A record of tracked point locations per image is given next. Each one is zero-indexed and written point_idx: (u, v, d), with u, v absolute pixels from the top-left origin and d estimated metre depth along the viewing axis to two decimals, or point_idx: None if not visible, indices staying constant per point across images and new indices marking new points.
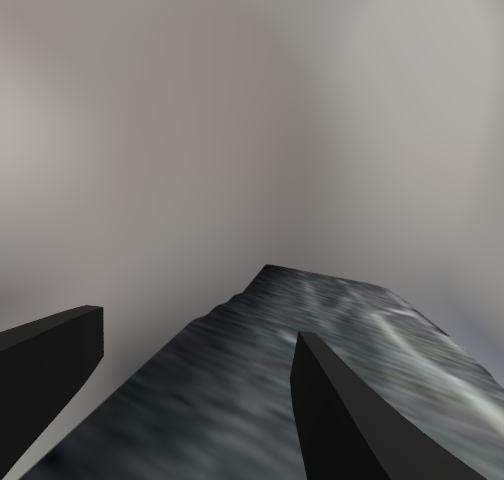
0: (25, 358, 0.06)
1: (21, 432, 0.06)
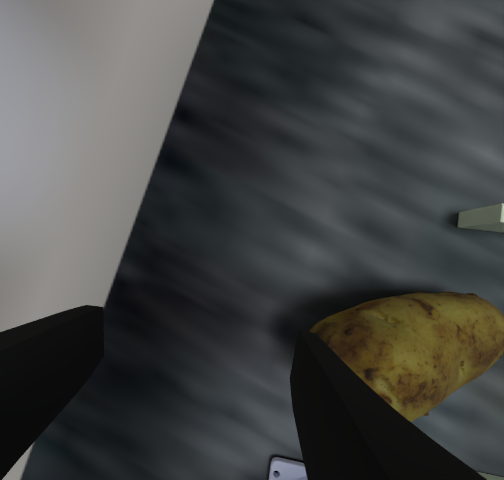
0: (25, 358, 0.06)
1: (21, 432, 0.06)
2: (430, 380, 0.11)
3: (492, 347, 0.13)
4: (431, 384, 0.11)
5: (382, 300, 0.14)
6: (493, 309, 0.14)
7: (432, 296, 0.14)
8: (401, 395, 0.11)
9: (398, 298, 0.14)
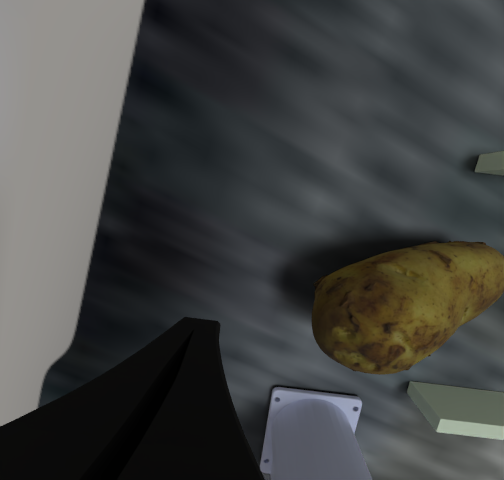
0: (169, 375, 0.06)
1: None
2: (443, 329, 0.11)
3: (494, 294, 0.14)
4: (442, 332, 0.12)
5: (399, 253, 0.13)
6: (501, 258, 0.14)
7: (447, 247, 0.14)
8: (415, 344, 0.11)
9: (416, 250, 0.13)
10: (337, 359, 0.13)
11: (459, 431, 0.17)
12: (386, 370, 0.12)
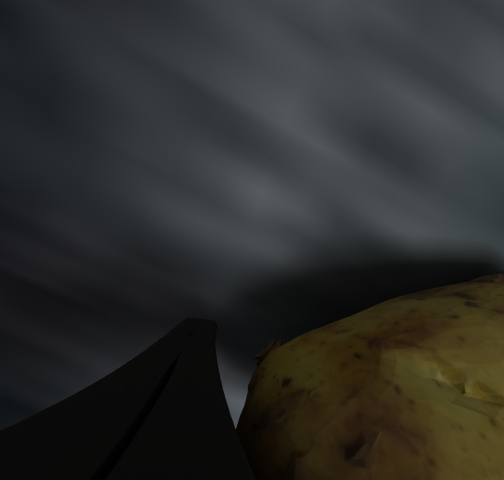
0: None
1: None
2: None
3: None
4: None
5: (437, 318, 0.05)
6: None
7: None
8: None
9: (479, 312, 0.05)
10: None
11: None
12: None
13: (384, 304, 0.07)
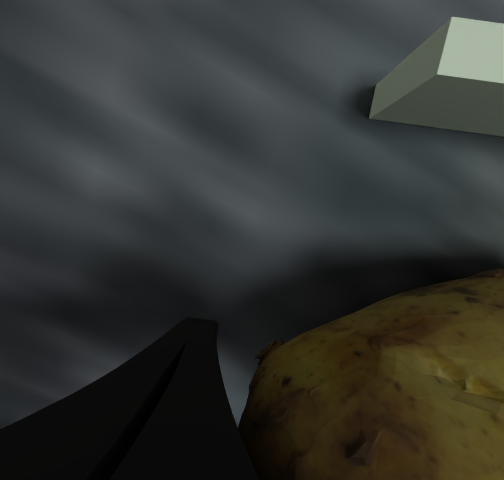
0: (172, 376, 0.06)
1: None
2: None
3: None
4: None
5: (437, 314, 0.05)
6: None
7: None
8: None
9: (480, 307, 0.05)
10: None
11: None
12: None
13: (384, 301, 0.07)
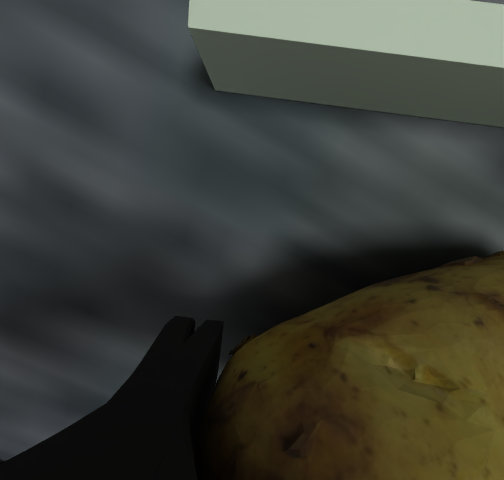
0: (202, 379, 0.06)
1: (193, 452, 0.06)
2: None
3: None
4: None
5: (394, 303, 0.05)
6: None
7: None
8: None
9: (438, 295, 0.05)
10: None
11: None
12: None
13: (353, 293, 0.07)
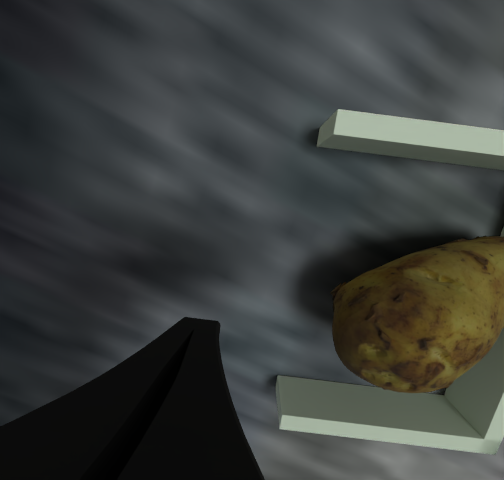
0: (169, 375, 0.06)
1: None
2: (486, 341, 0.10)
3: None
4: (486, 344, 0.10)
5: (427, 255, 0.12)
6: None
7: (480, 245, 0.12)
8: (456, 360, 0.10)
9: (446, 251, 0.12)
10: (365, 378, 0.12)
11: (304, 428, 0.16)
12: (423, 390, 0.10)
13: None
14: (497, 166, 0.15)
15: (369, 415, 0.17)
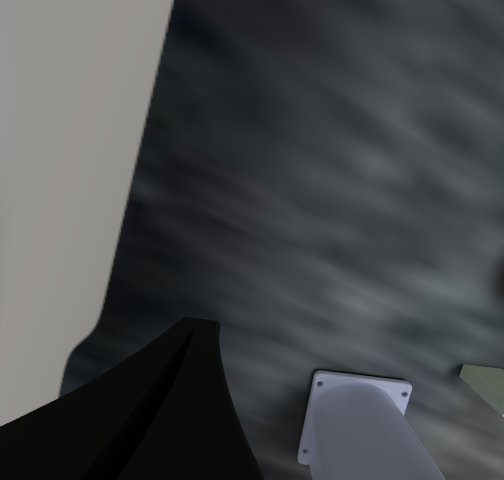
0: (169, 375, 0.06)
1: None
2: None
3: None
4: None
5: None
6: None
7: None
8: None
9: None
10: None
11: None
12: None
13: None
14: None
15: None
